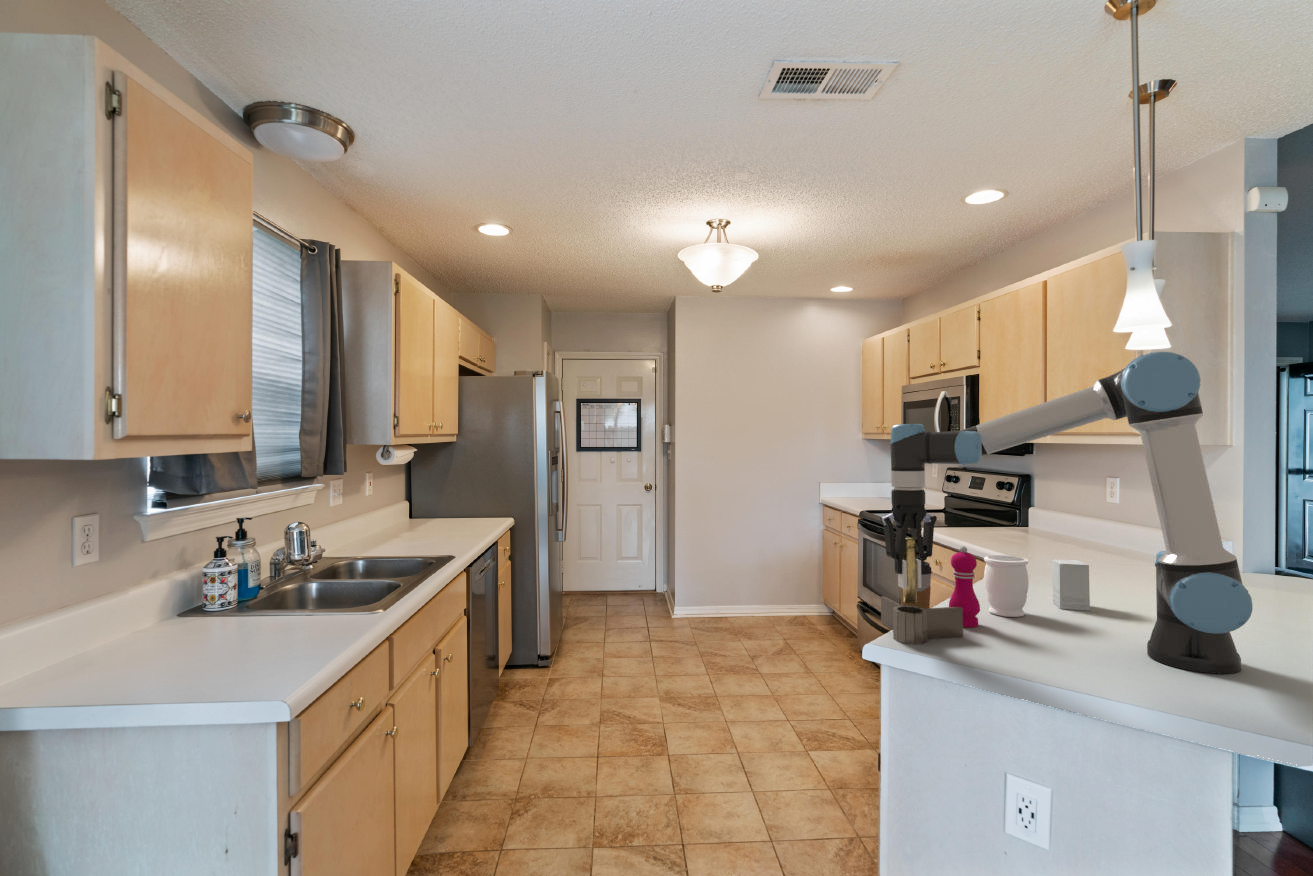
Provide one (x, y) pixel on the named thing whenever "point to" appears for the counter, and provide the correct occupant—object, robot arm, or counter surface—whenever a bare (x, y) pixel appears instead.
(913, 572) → the gold metal bar
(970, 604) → the pepper mill
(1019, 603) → the jar
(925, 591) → the coffee cup
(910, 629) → the hinge
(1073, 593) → the supplement box
